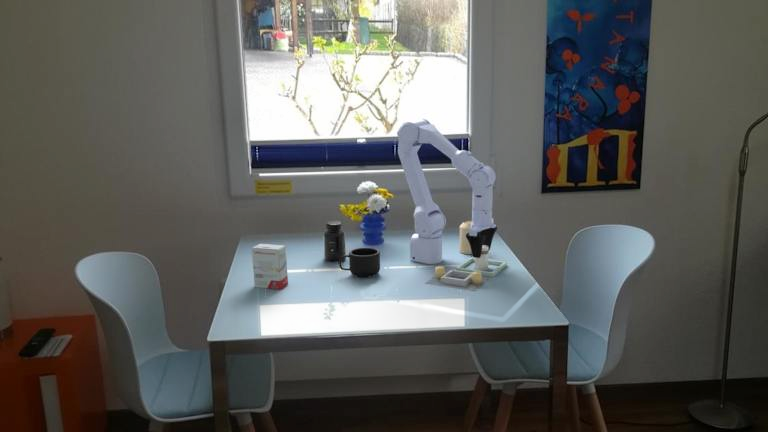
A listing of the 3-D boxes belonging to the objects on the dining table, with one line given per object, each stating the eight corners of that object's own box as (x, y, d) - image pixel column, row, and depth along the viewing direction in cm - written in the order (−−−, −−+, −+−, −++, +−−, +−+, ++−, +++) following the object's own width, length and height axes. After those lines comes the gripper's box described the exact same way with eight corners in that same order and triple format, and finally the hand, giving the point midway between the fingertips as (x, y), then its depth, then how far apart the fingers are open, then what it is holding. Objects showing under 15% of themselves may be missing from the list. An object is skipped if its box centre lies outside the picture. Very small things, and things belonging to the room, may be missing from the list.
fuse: (472, 270, 209) (472, 248, 207) (476, 266, 212) (477, 244, 211) (485, 272, 207) (486, 249, 205) (490, 268, 211) (490, 245, 209)
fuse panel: (424, 286, 198) (424, 272, 197) (442, 274, 208) (442, 261, 207) (475, 294, 191) (475, 280, 190) (490, 281, 201) (491, 267, 200)
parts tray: (455, 274, 208) (455, 268, 207) (470, 263, 218) (470, 257, 217) (493, 280, 202) (493, 273, 202) (506, 268, 212) (506, 262, 212)
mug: (377, 268, 214) (376, 246, 213) (382, 278, 206) (382, 254, 204) (338, 272, 212) (337, 249, 211) (341, 281, 204) (341, 257, 202)
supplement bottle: (320, 261, 223) (319, 224, 220) (330, 255, 229) (328, 219, 226) (340, 263, 220) (338, 226, 217) (349, 257, 226) (348, 220, 224)
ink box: (289, 284, 202) (286, 244, 199) (281, 290, 198) (278, 249, 195) (262, 281, 205) (259, 242, 202) (253, 287, 200) (251, 247, 198)
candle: (476, 254, 226) (476, 224, 224) (458, 254, 227) (459, 223, 225) (477, 249, 232) (477, 220, 229) (460, 249, 233) (460, 219, 230)
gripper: (486, 215, 197) (485, 262, 201) (503, 204, 210) (502, 249, 213) (462, 213, 201) (462, 259, 204) (481, 202, 213) (480, 246, 216)
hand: (481, 253), depth 209 cm, fingers open, 7 cm apart
